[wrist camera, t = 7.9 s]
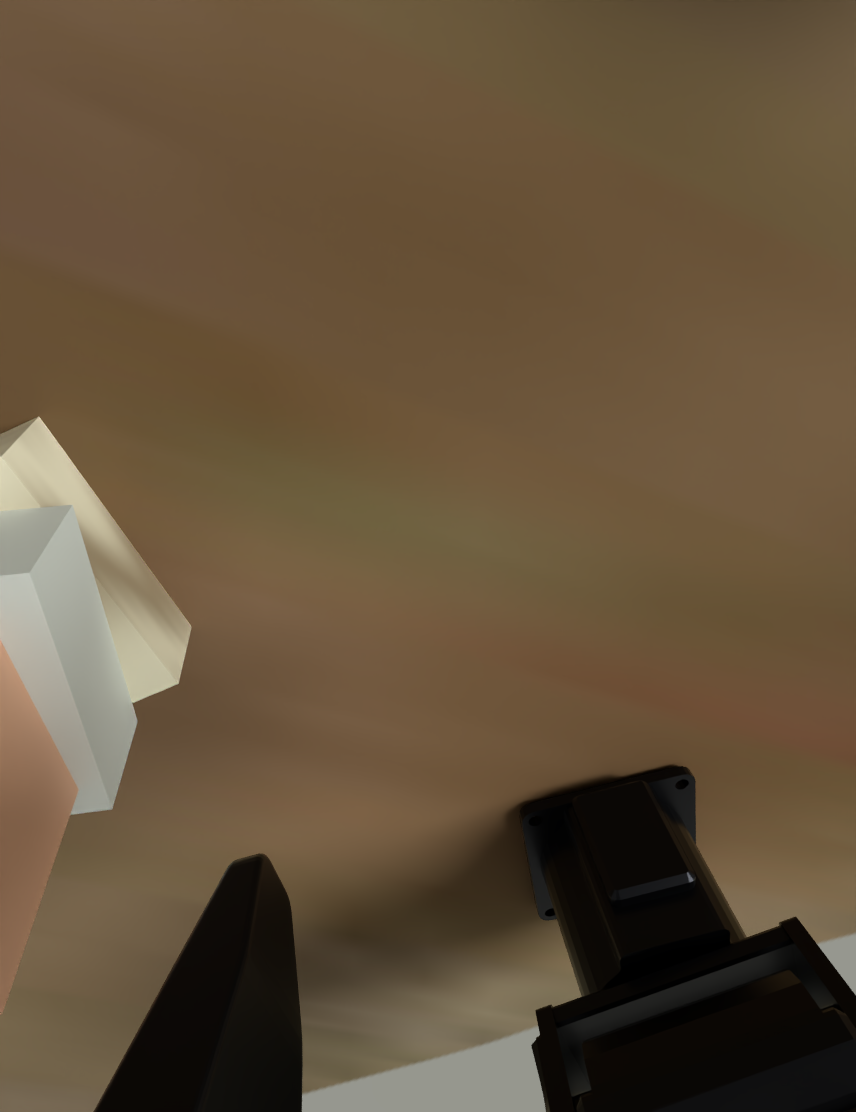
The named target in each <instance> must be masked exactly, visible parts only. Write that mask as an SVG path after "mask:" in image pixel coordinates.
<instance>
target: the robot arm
mask: <svg viewBox="0 0 856 1112" xmlns="http://www.w3.org/2000/svg"><path fill="white" fill-rule="evenodd" d="M519 816H520V822H521V827H522V832H523V838H524V843H525V849H526V854H527V859H528V865H529V870H530V876H531V881H532V886H533V892H534V897H535V902H536V907H537V911H538V914H539V917H540V918H541V919H543V920H554V919H557V921H558V924H559V927H560V930H561V933H562V936H563V939H564V942H565V946H566V949H567V952H568V955H569V958H570V961H571V964H572V967H573V970H574V974H575V977H576V980H577V983H578V986H579V989H580V992H581V995H582V997H580V998H577V999H575V1000H572V1001H569V1002H566V1003H564V1004H561V1005H558V1006H555V1007H553V1006H552V1005H548V1006H546V1007H543V1008H540V1009H537V1010H536V1016H537V1021H538V1026H539V1031H540V1036H539V1037H537V1038H536V1040H535V1042H534V1043H533V1044H532V1050H533V1054H534V1058H535V1062H536V1066H537V1070H538V1074H539V1078H540V1082H541V1086H542V1091H543V1096H544V1101H545V1107H546V1112H856V995H855V994H854V993H853V991H852V990H851V989H850V988H849V986H848V985H847V983H846V982H845V981H844V980H843V978H842V977H841V976H840V974H839V973H838V972H837V970H836V969H835V968H834V966H833V965H832V964H831V962H830V961H829V960H828V958H827V957H826V956H825V954H824V953H823V952H822V950H821V949H820V948H819V946H818V945H817V944H816V942H815V941H814V940H813V938H812V937H811V936H810V934H809V933H808V932H807V930H806V929H805V928H804V926H803V925H802V924H801V923H800V921H799V920H798V919H797V917H793V918H790V919H787V920H784V921H782V922H779V926H778V927H775V928H772V929H769V930H766V931H764V932H761V933H758V934H755V935H753V936H750V937H746V935H745V933H744V931H743V930H742V928H741V926H740V924H739V922H738V921H737V919H736V917H735V915H734V913H733V911H732V910H731V908H730V906H729V904H728V902H727V901H726V899H725V897H724V895H723V893H722V891H721V890H720V888H719V886H718V884H717V882H716V881H715V879H714V877H713V875H712V873H711V871H710V870H709V868H708V866H707V864H706V862H705V861H704V859H703V857H702V855H701V853H700V851H699V850H698V848H697V846H696V816H695V779H694V777H693V775H692V773H691V772H690V770H689V769H688V768H687V767H683V766H680V767H674V768H670V769H666V770H662V771H658V772H654V773H650V774H646V775H642V776H638V777H634V778H630V779H626V780H622V781H618V782H614V783H610V784H606V785H602V786H598V787H594V788H590V789H586V790H582V791H578V792H574V793H570V794H566V795H562V796H558V797H554V798H550V799H546V800H542V801H538V802H534V803H530V804H528V805H526V806H524V807H523V808H522V809H521V811H520V815H519ZM534 816H535V817H534ZM302 1067H303V1062H302V1030H301V1016H300V1005H299V993H298V981H297V970H296V958H295V946H294V935H293V923H292V912H291V906H290V901H289V897H288V895H287V892H286V890H285V888H284V886H283V884H282V882H281V880H280V879H279V877H278V875H277V873H276V871H275V869H274V867H273V865H272V863H271V861H270V860H269V858H268V857H267V856H266V855H265V854H256V855H252V856H248V857H245V858H241V859H237V860H235V861H233V862H232V863H231V864H230V865H229V866H228V868H227V869H226V871H225V873H224V875H223V877H222V878H221V880H220V882H219V884H218V886H217V887H216V889H215V891H214V893H213V895H212V897H211V898H210V900H209V902H208V904H207V906H206V908H205V909H204V911H203V913H202V915H201V917H200V919H199V920H198V922H197V924H196V926H195V928H194V929H193V931H192V933H191V935H190V937H189V939H188V940H187V942H186V944H185V946H184V948H183V950H182V951H181V953H180V955H179V957H178V959H177V961H176V962H175V964H174V966H173V968H172V970H171V971H170V973H169V975H168V977H167V979H166V981H165V982H164V984H163V986H162V988H161V990H160V992H159V993H158V995H157V997H156V999H155V1001H154V1002H153V1004H152V1006H151V1008H150V1010H149V1012H148V1013H147V1015H146V1017H145V1019H144V1021H143V1023H142V1024H141V1026H140V1028H139V1030H138V1032H137V1034H136V1035H135V1037H134V1039H133V1041H132V1043H131V1044H130V1046H129V1048H128V1050H127V1052H126V1054H125V1055H124V1057H123V1059H122V1061H121V1063H120V1065H119V1066H118V1068H117V1070H116V1072H115V1074H114V1076H113V1077H112V1079H111V1081H110V1083H109V1085H108V1086H107V1088H106V1090H105V1092H104V1094H103V1096H102V1097H101V1099H100V1101H99V1103H98V1105H97V1107H96V1108H95V1110H94V1112H302Z"/></svg>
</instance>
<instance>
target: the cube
mask: <svg viewBox="0 0 856 1112" xmlns="http://www.w3.org/2000/svg"><path fill="white" fill-rule="evenodd" d="M78 791H79V789H78V787H77V785H76V783H75V781H74V779H73V778H72V776H71V774H70V772H69V770H68V768H67V766H66V764H65V762H64V760H63V758H62V756H61V755H60V753H59V751H58V749H57V747H56V745H55V743H54V741H53V739H52V737H51V735H50V733H49V732H48V730H47V728H46V726H45V724H44V722H43V720H42V718H41V716H40V714H39V712H38V711H37V709H36V707H35V705H34V703H33V701H32V699H31V697H30V695H29V693H28V691H27V689H26V688H25V686H24V684H23V682H22V680H21V678H20V676H19V674H18V672H17V670H16V668H15V666H14V665H13V663H12V661H11V659H10V657H9V655H8V653H7V651H6V649H5V647H4V646H3V644H2V642H1V640H0V1015H1V1014H2V1013H3V1010H4V1007H5V1005H6V1002H7V999H8V996H9V993H10V990H11V987H12V984H13V981H14V978H15V975H16V972H17V969H18V966H19V964H20V961H21V958H22V955H23V952H24V949H25V946H26V943H27V940H28V937H29V934H30V931H31V928H32V925H33V923H34V920H35V917H36V914H37V911H38V908H39V905H40V902H41V899H42V896H43V893H44V890H45V887H46V884H47V882H48V879H49V876H50V873H51V870H52V867H53V864H54V861H55V858H56V855H57V852H58V849H59V846H60V843H61V840H62V838H63V835H64V832H65V829H66V826H67V823H68V820H69V817H70V814H71V811H72V808H73V805H74V802H75V799H76V797H77V794H78Z"/></svg>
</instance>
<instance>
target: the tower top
mask: <svg viewBox="0 0 856 1112" xmlns="http://www.w3.org/2000/svg"><path fill="white" fill-rule="evenodd" d="M0 640H1V642H2V644H3V646H4V647H5V649H6V651H7V653H8V655H9V657H10V659H11V661H12V663H13V665H14V666H15V668H16V670H17V672H18V674H19V676H20V678H21V680H22V682H23V684H24V686H25V688H26V689H27V691H28V693H29V695H30V697H31V699H32V701H33V703H34V705H35V707H36V709H37V711H38V712H39V714H40V716H41V718H42V720H43V722H44V724H45V726H46V728H47V730H48V732H49V733H50V735H51V737H52V739H53V741H54V743H55V745H56V747H57V749H58V751H59V753H60V755H61V756H62V758H63V760H64V762H65V764H66V766H67V768H68V770H69V772H70V774H71V776H72V778H73V779H74V781H75V783H76V785H77V787H78V789H79V791H78V794H77V797H76V799H75V802H74V805H73V808H72V811H71V814H70V815H73V814H80V813H88V812H96V811H104V810H111V809H113V805H114V802H115V798H116V795H117V791H118V788H119V784H120V781H121V777H122V774H123V770H124V767H125V763H126V760H127V757H128V753H129V750H130V746H131V743H132V739H133V736H134V732H135V729H136V725H137V722H138V721H137V718H136V714H135V711H134V708H133V704H132V701H131V698H130V694H129V691H128V688H127V684H126V681H125V678H124V674H123V671H122V668H121V664H120V661H119V658H118V654H117V651H116V648H115V644H114V641H113V638H112V634H111V631H110V628H109V624H108V621H107V618H106V614H105V611H104V608H103V604H102V601H101V598H100V594H99V591H98V588H97V584H96V581H95V578H94V574H93V571H92V568H91V564H90V561H89V558H88V554H87V551H86V548H85V544H84V541H83V538H82V535H81V531H80V528H79V525H78V521H77V518H76V515H75V511H74V508H73V505H64V506H53V507H41V508H30V509H19V510H7V511H0Z"/></svg>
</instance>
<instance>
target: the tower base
mask: <svg viewBox="0 0 856 1112" xmlns="http://www.w3.org/2000/svg"><path fill="white" fill-rule="evenodd" d="M64 505H73V508H74V511H75V515H76V518H77V521H78V525H79V528H80V531H81V535H82V538H83V541H84V544H85V548H86V551H87V554H88V558H89V561H90V564H91V568H92V571H93V574H94V578H95V581H96V584H97V588H98V591H99V594H100V598H101V601H102V604H103V608H104V611H105V614H106V618H107V621H108V624H109V628H110V631H111V634H112V638H113V641H114V644H115V648H116V651H117V654H118V658H119V661H120V664H121V668H122V671H123V674H124V678H125V681H126V684H127V688H128V691H129V694H130V698H131V701H132V703H134V702H137V701H139V700H141V699H144V698H146V697H148V696H151V695H153V694H155V693H158V692H160V691H162V690H165V689H167V688H170V687H172V686H174V685H177V684H179V679H180V675H181V671H182V667H183V662H184V658H185V654H186V649H187V645H188V641H189V636H190V632H191V628H192V627H191V625H190V624H189V622H188V621H187V620H186V618H185V617H184V616H183V614H182V613H181V611H180V610H179V609H178V607H177V606H176V605H175V603H174V602H173V600H172V599H171V598H170V596H169V595H168V593H167V592H166V591H165V589H164V588H163V587H162V585H161V584H160V582H159V581H158V580H157V578H156V577H155V576H154V574H153V573H152V571H151V570H150V569H149V567H148V566H147V565H146V563H145V562H144V560H143V559H142V558H141V556H140V555H139V554H138V552H137V551H136V549H135V548H134V547H133V545H132V544H131V543H130V541H129V540H128V538H127V537H126V536H125V534H124V533H123V531H122V530H121V529H120V527H119V526H118V525H117V523H116V522H115V520H114V519H113V518H112V516H111V515H110V514H109V512H108V511H107V509H106V508H105V507H104V505H103V504H102V503H101V501H100V500H99V498H98V497H97V496H96V494H95V493H94V492H93V490H92V489H91V487H90V486H89V485H88V483H87V482H86V481H85V479H84V478H83V476H82V475H81V474H80V472H79V471H78V469H77V468H76V467H75V465H74V464H73V463H72V461H71V460H70V458H69V457H68V456H67V454H66V453H65V452H64V450H63V449H62V447H61V446H60V445H59V443H58V442H57V441H56V439H55V438H54V436H53V435H52V434H51V432H50V431H49V430H48V428H47V427H46V425H45V424H44V423H43V421H42V420H41V419H40V417H37V418H34V419H32V420H30V421H28V422H26V423H24V424H21V425H19V426H17V427H15V428H13V429H11V430H8V431H6V432H4V433H2V434H0V511H7V510H19V509H30V508H41V507H53V506H64Z"/></svg>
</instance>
